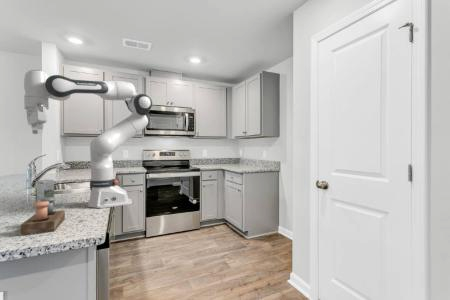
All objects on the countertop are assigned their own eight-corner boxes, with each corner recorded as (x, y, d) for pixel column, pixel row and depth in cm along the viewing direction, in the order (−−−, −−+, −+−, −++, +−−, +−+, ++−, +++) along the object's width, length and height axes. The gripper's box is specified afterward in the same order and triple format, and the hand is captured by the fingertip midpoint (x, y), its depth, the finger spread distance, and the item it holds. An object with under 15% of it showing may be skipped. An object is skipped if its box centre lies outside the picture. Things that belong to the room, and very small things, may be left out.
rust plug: (51, 215, 88) (50, 200, 88) (47, 219, 84) (47, 203, 84) (36, 217, 86) (36, 201, 86) (31, 221, 82) (31, 204, 82)
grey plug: (56, 210, 96) (56, 196, 96) (53, 213, 91) (53, 199, 91) (43, 212, 94) (42, 197, 94) (39, 215, 89) (38, 200, 89)
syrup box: (45, 205, 122) (45, 179, 122) (54, 205, 121) (54, 179, 120) (35, 208, 116) (35, 180, 116) (44, 208, 115) (43, 181, 115)
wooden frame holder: (64, 219, 98) (64, 210, 98) (54, 231, 84) (54, 221, 84) (36, 222, 94) (36, 212, 94) (20, 235, 80) (20, 224, 80)
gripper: (51, 102, 100) (51, 132, 101) (40, 108, 113) (40, 134, 114) (33, 100, 96) (33, 132, 96) (23, 106, 108) (24, 134, 109)
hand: (37, 133), depth 105 cm, fingers open, 8 cm apart
